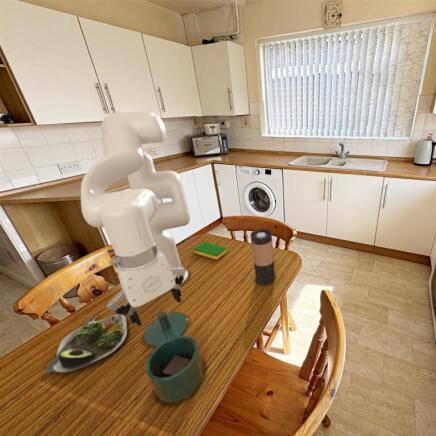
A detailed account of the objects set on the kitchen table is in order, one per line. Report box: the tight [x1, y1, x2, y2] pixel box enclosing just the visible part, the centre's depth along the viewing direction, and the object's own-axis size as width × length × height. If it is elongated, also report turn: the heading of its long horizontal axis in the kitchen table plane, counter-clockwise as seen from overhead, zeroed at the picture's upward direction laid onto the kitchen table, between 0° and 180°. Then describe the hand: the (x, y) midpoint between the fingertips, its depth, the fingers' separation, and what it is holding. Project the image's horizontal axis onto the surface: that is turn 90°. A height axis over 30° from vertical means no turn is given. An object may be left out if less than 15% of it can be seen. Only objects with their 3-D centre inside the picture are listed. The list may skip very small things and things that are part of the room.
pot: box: [145, 335, 205, 404], centre depth 57 cm, size 11×11×8 cm
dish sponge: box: [193, 241, 228, 261], centre depth 111 cm, size 7×14×2 cm, turn 64°
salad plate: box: [43, 314, 129, 375], centre depth 69 cm, size 19×18×5 cm
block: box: [162, 355, 191, 378], centre depth 58 cm, size 4×4×4 cm
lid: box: [143, 310, 189, 348], centre depth 71 cm, size 12×12×7 cm
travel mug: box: [250, 228, 276, 285], centre depth 89 cm, size 8×8×20 cm
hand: (158, 310), depth 60 cm, fingers open, 9 cm apart
